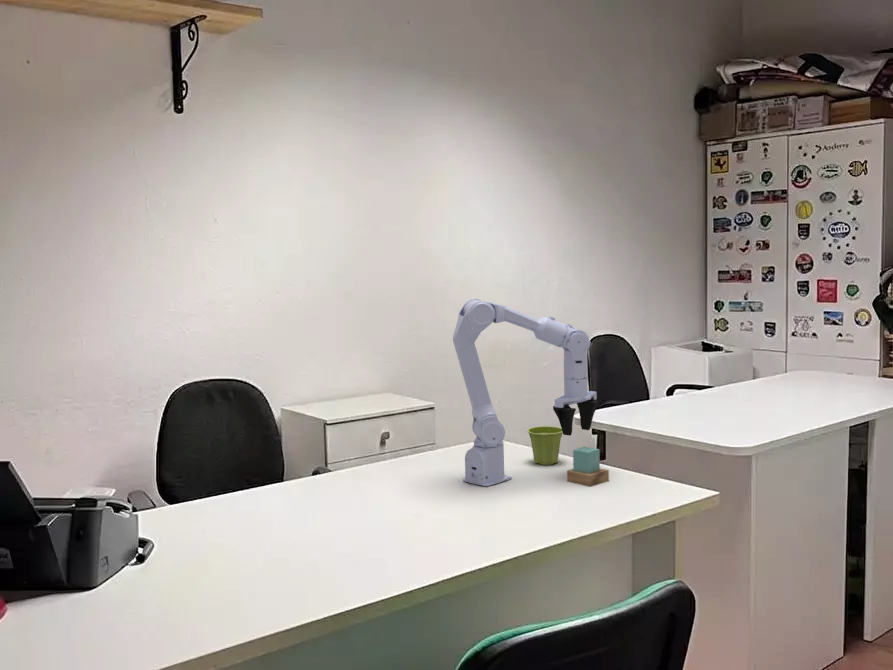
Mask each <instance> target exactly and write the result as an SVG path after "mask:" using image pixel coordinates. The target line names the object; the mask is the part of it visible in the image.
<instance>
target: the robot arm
mask: <svg viewBox="0 0 893 670" xmlns="http://www.w3.org/2000/svg"><path fill="white" fill-rule="evenodd" d="M457 317H458V318H457V321H456V325H455V327H454V332H453V334H452V341H453V345H454V349H455V352H456V356H457V359H458V363H459V366H460V370H461V373H462V377H463V380H464V384H465V388H466V391H467V395H468V398H469V402H470V406H471V415H472V417H473V419H472V420H473V421H472V425H471V426H472V427H471V428H472V432H473V434H475V436H476V437H475V439H474V440H473V446H472V447H470V448H469V449H468V450H467V451H466V453H465V454H464V471H465V472H464V473H465V477H464V478H463V479H462V481H463V482H464V483H470V484H474V485H478V486H483V487H490V486H493V485H496V484H499V483H503V482H506V481H508V480H512V479H513V476H511V475H505V456H504V455H505V454H504V453H505V451H504V444H505V443H504V441H503V440H504V438H505V435H506V429H505V427H504V425H503V424H502V422H501V421H499V419H498V417H497V413H496V411H495V409H494V407H493V404H492V401H491V397H490V394H489V390H488V386H487V383H486V379H485V376H484V372H483V368H482V366H481V362H480V358H479V355H478V351H477V347H476V344H475V343H476V341H477V339H478V338H479V337H480V335H481V333H482V332H483V331H484V330H486V329H487V328H488V327H489V326H491V325H492V324H493V323H495V324H500V323H504V322H506V323H509V324H511V325H515V326H518V327H521V328H523V329H526V330H529V331H531V332H533V335H534V336H535V338H536V339H537V340H540V341H542V342H544V343H547V344H550V345H553V346H555V347H557V348H562V349H563V385H564V386H563V388H564V390H563V395H562V396H559V397H558V398H555V399H554V405H553V406H552V410H553V412H554V413H555V415H556V417H557V419H558V421H559V422H558V423H559V425H560V428H562V432H563V433H562V436H572V433H573V422H574V417H575V413H576V411H577V409H578V412H579V419H580V420H579V421H580V427H581V430H585V431H590V429H591V425H592V422H593V418H594V415H595V412H596V410H597V408H598V406H599V401H598V400H597V397H598V396H597V391H593V390H590V391H589V389H588V388H589V387H588V385H589V384H588V351H589V349H590V347H591V343H592V342H591V340H590V338H589V335H588V334H587V333H586V332H585V331H583V330H581V329H577V328H575V327H573V324H570V323H567V324H565V323H562V322H560V321H557V320H556V317H554V316H550V315H549V316H548V317H547V316H543V317H541V318H538V319H537V318H534V317H532V316H530V315H528V314H525V313H523V312H520V311H518V310H515V309H514V308H511V307H509V306H506V305H504V304H498V303H494V302H491V301H490V302H489V301H485V300H480V299H478V298H472V299H469V300H467V301H466V302H465V303H464V304H463V306H462V307H461V309H460V310H459V311H458V315H457ZM575 404H576V405H577V408H573V407H571V405H575Z"/></svg>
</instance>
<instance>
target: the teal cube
mask: <svg viewBox="0 0 893 670" xmlns="http://www.w3.org/2000/svg"><path fill="white" fill-rule="evenodd" d="M600 452H601V451H600V448H594V447H588V446H582V447H579V448H576V449H575V448H574V449H573V450H572V453H573V454H572V458H573V459H572V463H573V464H572V465H573V468H572V469H573V471H579V472H584V473H592V472H595V471H597V470H600V468H601V466H600V463H601V462H600V457H601V455H600Z"/></svg>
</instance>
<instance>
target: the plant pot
mask: <svg viewBox="0 0 893 670" xmlns="http://www.w3.org/2000/svg"><path fill="white" fill-rule="evenodd" d="M526 432H527V433H528V435H529V438H530V443H531V449H532V455H533V460H534V463H535V464H539V465H542V466H551V465H553V464H558V462H559V455H560V447H561V441H562V440H561V439H562V437H563V432H562V428H561V427H559V426H553V425H552V426H551V425H549V426H548V425H545V426H541V425H540V426H534V427H531V428H527V430H526Z"/></svg>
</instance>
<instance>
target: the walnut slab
mask: <svg viewBox="0 0 893 670" xmlns="http://www.w3.org/2000/svg"><path fill="white" fill-rule="evenodd" d="M609 473H610V471H609V469H605V468H601V467H600V470H597V471H595V472H592V473H584V472H579V471H573V468H572V469H568V470H567V471H566V481H567V482H569V483H573V484H577V485H581V486H586V487H593V486H597V485H601V484H602V483H603V484H604V483H606V482H609V481H610V475H609Z"/></svg>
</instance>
